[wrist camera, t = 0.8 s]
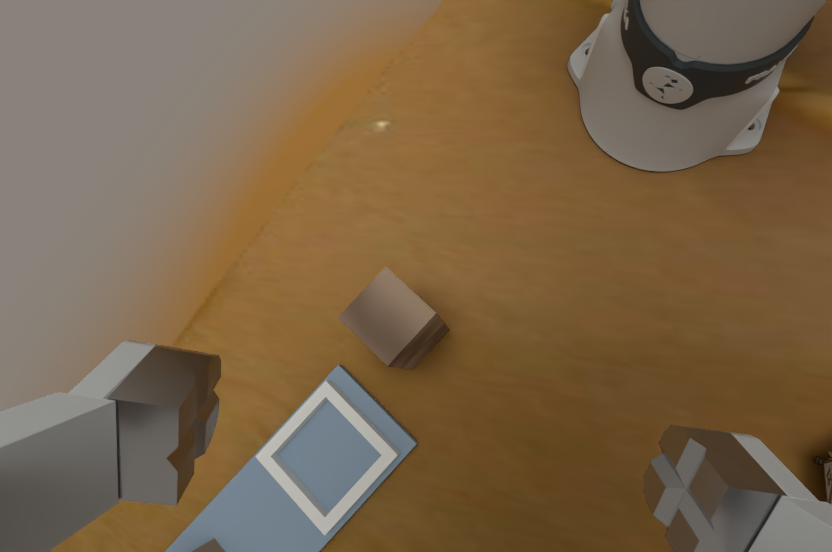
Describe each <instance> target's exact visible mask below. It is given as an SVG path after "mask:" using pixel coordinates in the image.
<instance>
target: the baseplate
mask: <svg viewBox="0 0 832 552" xmlns="http://www.w3.org/2000/svg"><path fill="white" fill-rule="evenodd" d="M417 443H418V442H417V441H416V440H415V439H414V438H413V437H412V436H411V435H410V434H409V433H408V432H407V431H406V430H405V429H404V428H403V427H402V426H401V425H400V424H399V423H398V422H397V421H396V420H395V419H394V418H393V417H392V416H391V415H390V414H389V413H388V412H387V411H386V410H385V409H384V408H383V407H382V406H381V405H380V404H379V402H378V401H377V400H376V399H375V398H374V397H373V396H372V395H371V394H370V393H369V392H368V391H367V390H366V389H365V388H364V387H363V386H362V385H361V384H360V383H359V382H358V381H357V380H356V379H355V378H354V377H353V376H352V375H351V374H350V373H349V372H348V371H347V370H346V369H345V368H344V367H343V366H342V365H337V367H336V368H335V369H334V370H333V371H332V372H331V373H330V374H329V375H328V376H327V377H326V378H325V380H324V381H323V382H322V383H321V384H320V385H319V386H318V387H317V388H316V389H315V390H314V391H313V392H312V394H311V395H310V396H309V397H308V398H307V399H306V400H305V401H304V402H303V403H302V404H301V405H300V406H299V408H298V409H297V410H296V411H295V412H294V413H293V414H292V415H291V416H290V417H289V418H288V419H287V421H286V422H285V423H284V424H283V425H282V426H281V427H280V428H279V429H278V430H277V431H276V432H275V433H274V435H273V436H272V437H271V438H270V439H269V440H268V441H267V442H266V443H265V444H264V445H263V446H262V447H261V449H260V450H259V451H258V452H257V453H256V454H255V455H254V456H253V457H252V458H251V459H250V460H249V462H248V463H247V464H246V465H245V466H244V467H243V468H242V469H241V470H240V471H239V472H238V473H237V474H236V476H235V477H234V478H233V479H232V480H231V481H230V482H229V483H228V484H227V485H226V486H225V487H224V488H223V490H222V491H221V492H220V493H219V494H218V495H217V496H216V497H215V498H214V499H213V500H212V501H211V502H210V504H209V505H208V506H207V507H206V508H205V509H204V510H203V511H202V512H201V513H200V514H199V515H198V517H197V518H196V519H195V520H194V521H193V522H192V523H191V524H190V525H189V526H188V527H187V528H186V529H185V531H184V532H183V533H182V534H181V535H180V536H179V537H178V538H177V539H176V540H175V541H174V542H173V543H172V545H171V546H170V547H169V548H168V549H167V550H166V551H165V552H319V551H320V550H321V549H322V548H323V547H324V546H325V545H326V544H327V543H328V542H329V540H330V539H331V538H332V537H333V536H334V535H335V534H336V533H337V532H338V531H339V529H340V528H341V527H342V526H343V525H344V524H345V523H346V522H347V521H348V519H349V518H350V517H351V516H352V515H353V514H354V513H355V512H356V511H357V510H358V508H359V507H360V506H361V505H362V504H363V503H364V502H365V501H366V500H367V499H368V497H369V496H370V495H371V494H372V493H373V492H374V491H375V490H376V489H377V487H378V486H379V485H380V484H381V483H382V482H383V481H384V480H385V479H386V478H387V476H388V475H389V474H390V473H391V472H392V471H393V470H394V469H395V468H396V467H397V465H398V464H399V463H400V462H401V461H402V460H403V459H404V458H405V457H406V455H407V454H408V453H409V452H410V451H411V450H412V449H413V448H414V447H415V446H416V444H417Z"/></svg>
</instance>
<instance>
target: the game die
mask: <svg viewBox="0 0 832 552" xmlns="http://www.w3.org/2000/svg"><path fill="white" fill-rule="evenodd" d="M827 452H828V456H829V457H830V458H828V459H827V460H825V461H824V460H823V459H822V458H820V457H812V458H813V460H814V461H815V463H818V464H819V465H820V464H823V469H824V480H825V492H826V502H828V503H829V504H831V505H832V451H830V452H829V451H827Z"/></svg>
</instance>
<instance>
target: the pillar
mask: <svg viewBox="0 0 832 552" xmlns="http://www.w3.org/2000/svg"><path fill="white" fill-rule="evenodd" d="M338 318H339V319H340V320H341V321H342V322H343V323H344V324H345V325H346V326H347V327H348V328H349V329H350V330H351V331H352V332H353V333H354V334H355V335H356V336H357V337H358V338H359V339H360V340H361V341H362V342H363V343H364V344H365V345H366V346H367V347H368V348H369V349H370V350H371V351H372V352H373V353H374V354H375V355H376V356H378V357H379V358H380V359H381V360H382V361H383V362H384V363H385V364H386V365H387V366H390V367H397V368H404V369H411V370H413V369H414V368H415V367H416V366H417V365H418V363H419V362H420V361H421V360H422V359H423V358H424V357H425V356H426V355H427V354H428V353H429V351H430V350H431V349H432V348H433V347H434V346H435V345H436V344H437V343H438V342H439V341H440V339H441V338H442V337H443V336H444V335H445V334H446V333H447V332H448V331H449V329H448V327H447V326H446V325H445V323H444V322H443V321H442V320H441V318H440V317H439V316H438V314H437V313H436V312H435V311H434V310H433V309H431V308H430V307H429V306H428V305H427V304H426V303H425V302H424V301H423V300H422V299H421V298H419V297H418V296H417V295H416V294H415V293H414V292H413V291H412V290H411V289H410V288H409V287H407V286H406V285H405V284H404V283H403V282H402V281H401V280H400V279H399V278H398V277H397V276H395V275H394V274H393V273H392V272H391V271H390V270H389V269H388V268H387V267H385V268H384V269H383V270H382V271H381V272H380V273H379V274H378V275H377V276H376V277H375V278H374V280H373V281H372V282H371V283H370V284H369V285H368V286H367V287H366V288H365V289H364V290H363V291H362V292H361V293H360V295H359V296H358V297H357V298H356V299H355V300H354V301H353V302H352V303H351V304H350V305H349V306H348V307H347V308H346V309H345V311H344V312H343V313H342V314H341V315H340V316H339V317H338Z"/></svg>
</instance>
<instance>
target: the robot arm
mask: <svg viewBox="0 0 832 552" xmlns="http://www.w3.org/2000/svg"><path fill="white" fill-rule="evenodd" d="M826 2H827V0H613V1H612V3H611V5H610V9H611V10H612V11H611V12H610V13H609V14H604V16H603V17H602V19H601V21H600V23H599V25H598V27H597V28H596V29H595V30H594V31H593V32H592V33H591V34H590V36H589V37H588V38H587V39H586V40H585V41H584V42H583V43H582V44H581V45H580V46H579V47H578V48H577V49H576V50H575V51H574V52H573V53H572V54H571V56H570V58H569V61H568V64H567V67H568V71H569V73H570V75H571V77H572V79H573V81H574V83H575V84H576V86H577V87H578V91H579V96H580V109H581V114H582V118H583V121H584V124H585V126H586V129H587V130H588V132H589V134H590V136H591V137H592V138H593V140H594V141H595V142H596V143H597V145H598V146H599V147H600V148H601V149H602V150H604V151H605V152H606V153H607V154H609V155H610V156H611V157H613V158H615V159H616V160H618V161H620V162H622V163H624V164H626V165H629V166H631V167H635V168H638V169H642V170H648V171H660V172H662V171H675V170H681V169H685V168H689V167H692V166H694V165H697V164H699V163H701V162H704V161H706V160H708V159H710V158H713V157H716V156H724V155H739V154H745V153H748V152H750V151H752V150H753V149H754V148H755V147H756V146H757V144H758V143H759V142H760V139H761V136H762V133H763V130H764V127H765V124H766V121H767V118H768V115H769V111H770V108H771V105H772V102H773V100H774V99H775V98H776V96H777V95H778V93H779V88H778V87H777V86H778V83H779V80H780V77H781V74H782V71H783V68H784V64H785V61H786V59H787V58H788V57H789V56H790V55H791V53H792V52H793V51H794V50H795V48H796V47H797V46H798V45H799V44H798V43H799V41H800V40H801V39H802V38H803V36H804V35H805V34H806V32H807V31H808V29H809V27H810V25H811V23H812V21H813V19H814V15H815V14H816V13H817V12H818V11H819V9H820V8H821V7H822V6H823V5H824V4H825V3H826ZM586 53H588V54H587V55H586ZM749 127H750V128H751V130H747V129H748V128H749ZM220 378H221V359H220V357H219V355H216V354H210V353H204V352H199V351H193V350H187V349H181V348H175V347H170V346H164V345H157V344H153V343H146V342H139V341H132V340H130V341H124V342H122V343H121V344H120V345H119V346H118V347H117V348H116V349H114V350H113V351H112V352H111V353H110V354H109V355H108V356H107V357H106V358H105V359H104V360H103V361H102V362H101V363H100V364H99V365H97V366H96V367H95V368H94V369H93V370H92V371H91V372H90V373H89V374H88V375H87V376H86V377H85V378H84V379H83V380H82V381H81V382H79V383H78V384H77V385H76V386H75V387H74V388H73V389H72V390H71V391H70V392H69V393H68V394H66V393H59V392H57V393H54V394H51V395H48V396H45V397H42V398H39V399H36V400H33V401H30V402H28V403H25V404H22V405H18V406H16V407H13V408H10V409H7V410H4V411H1V412H0V552H48V551H50V550H51V549H53V548H54V547H56V546H57V545H58V544H60V543H61V542H63V541H64V540H66V539H67V538H69V537H70V536H72V535H73V534H74V533H76V532H77V531H79V530H80V529H82V528H83V527H85V526H86V525H88V524H89V523H90V522H92V521H93V520H95V519H96V518H98V517H99V516H101V515H102V514H103V513H105V512H106V511H108V510H109V509H111V508H112V507H114V506H115V505H117V504H118V502H119V500H124V501H134V502H145V503H155V504H165V505H175V506H177V504H178V502H179V500H180V499H181V497H182V495H183V493H184V491H185V489H186V487H187V486H188V484H189V482H190V480H191V478H192V476H193V474H194V462H195V459H196V458H198V457H200V456H201V455H203V454H205V452H206V450H207V448H208V446H209V444H210V442H211V439H212V436H213V433H214V430H215V427H216V423H217V417H218V412H219V398H218V396H217V395H216V393H215V392H214V390H213V389H214V388H215V386H216V384H217V383H218V381H219V379H220ZM659 445H660V448H661V451H662V454H660V455H659V456H657V457H656V458H654V459H653V460H651V461H650V463H649V465H648V468H647V470H646V473H645V475H644V494H645V498H646V502H647V504H648V506H649V508H650V510H651V512H652V514H653V515H654V516H655V517H656V518H657V519H659V520H660V521H661V522H662V523H663V524H665V525H666V526H667V529H666V534H665V537H666V539H667V541H668V543H669V544H670V546H671V548H672V550H673V551H674V552H832V505H831V504H829V503H828V502H822V501H818V500H817V499H816V497H815V496H814V495H813V494H812V493H811V492H810V491H809V490H808V489H807V488H806V487H805V486H804V485H803V484H802V483H801V482H800V481H799V480H798V479H797V478H796V477H795V476H794V475H793V474H792V473H791V472H790V471H789V470H788V469H787V468H786V467H785V465H784V464H783V463H782V462H781V461H780V460H779V459H778V458H777V457H776V456H775V455H774V454H773V453H772V452H771V451H770V450H769V449H768V448H767V447H766V446H765V445H764V444H763V443H762V442H761V441H760V440H759V439H758V438H756V437H754V436H751V435H749V434H741V433H732V432H724V431H723V432H721V431H713V430H705V429H698V428H690V427H683V426H675V425H670V426H669V427H668V428H667V429H666V430H665V431H664V432H663V434H662V436H661V439H660V441H659Z"/></svg>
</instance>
